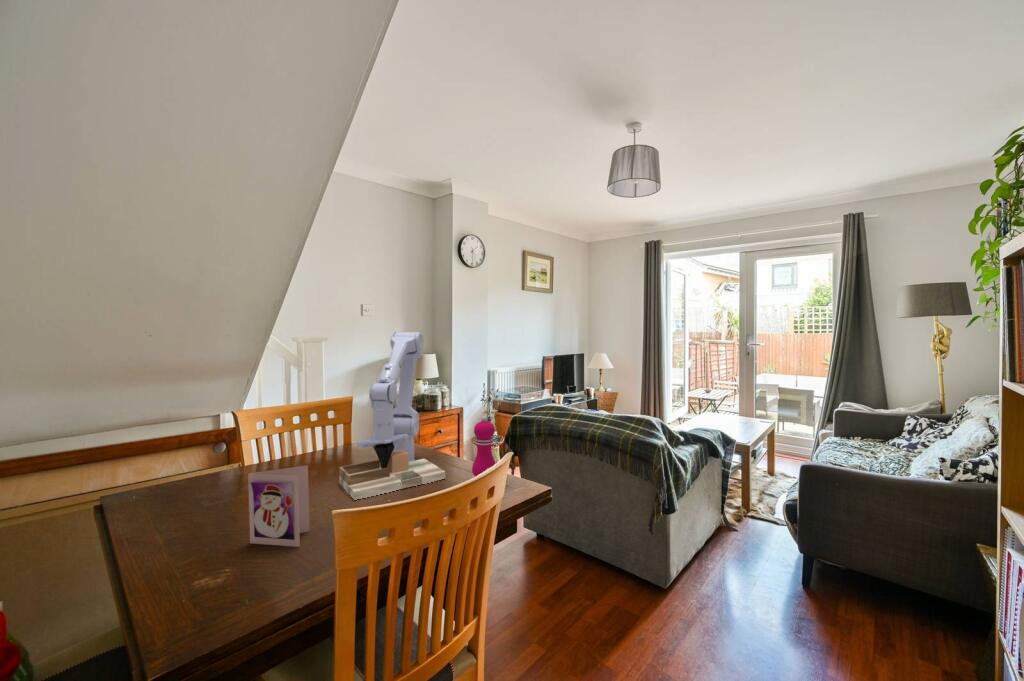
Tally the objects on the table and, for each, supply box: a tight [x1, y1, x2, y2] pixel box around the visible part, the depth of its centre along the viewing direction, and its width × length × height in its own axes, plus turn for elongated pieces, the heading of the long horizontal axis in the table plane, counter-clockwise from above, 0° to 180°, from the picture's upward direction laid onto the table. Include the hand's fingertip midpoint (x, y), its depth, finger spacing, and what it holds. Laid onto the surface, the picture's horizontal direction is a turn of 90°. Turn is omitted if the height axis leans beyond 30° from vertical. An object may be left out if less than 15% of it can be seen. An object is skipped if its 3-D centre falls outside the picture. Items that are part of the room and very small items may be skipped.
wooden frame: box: [338, 459, 390, 485], centre depth 124 cm, size 10×12×2 cm
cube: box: [387, 450, 409, 473], centre depth 130 cm, size 5×5×5 cm
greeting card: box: [247, 465, 310, 548], centre depth 93 cm, size 11×7×15 cm, turn 82°
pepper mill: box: [471, 415, 497, 477], centre depth 124 cm, size 7×7×20 cm
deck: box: [338, 458, 446, 501], centre depth 127 cm, size 15×26×2 cm, turn 126°
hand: (383, 468), depth 128 cm, fingers closed
